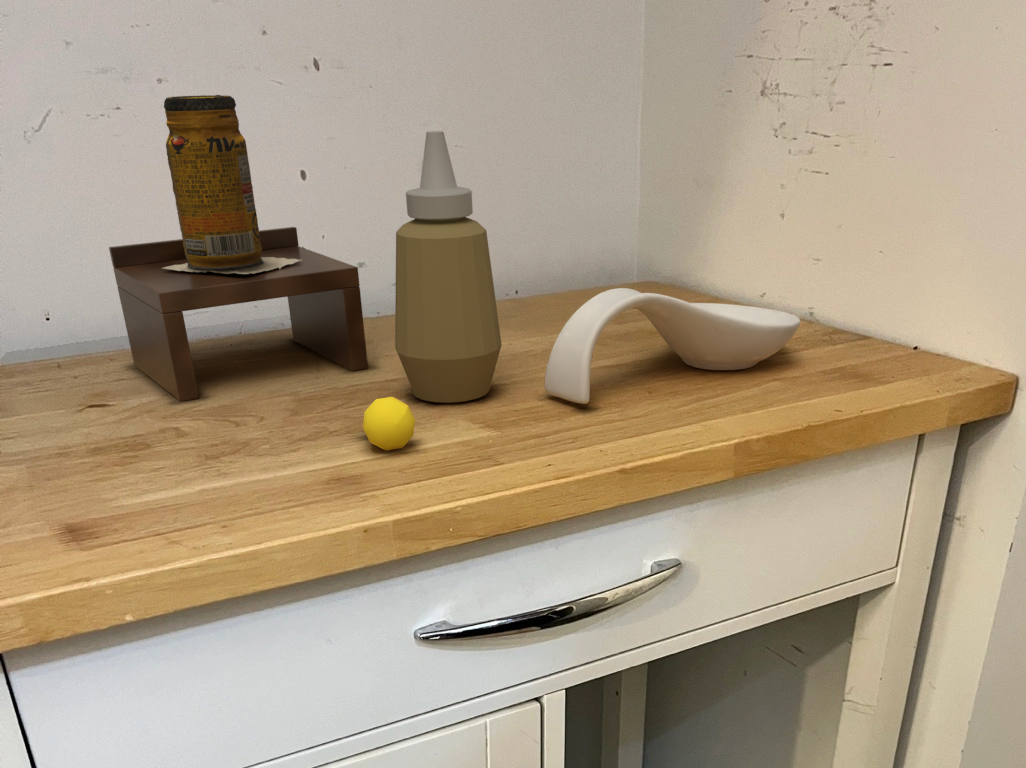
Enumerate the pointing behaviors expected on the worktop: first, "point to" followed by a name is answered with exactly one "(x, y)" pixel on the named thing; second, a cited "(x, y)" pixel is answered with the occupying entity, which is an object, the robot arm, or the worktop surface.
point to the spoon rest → (667, 336)
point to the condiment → (213, 187)
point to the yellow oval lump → (388, 423)
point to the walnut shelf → (166, 293)
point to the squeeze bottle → (444, 288)
